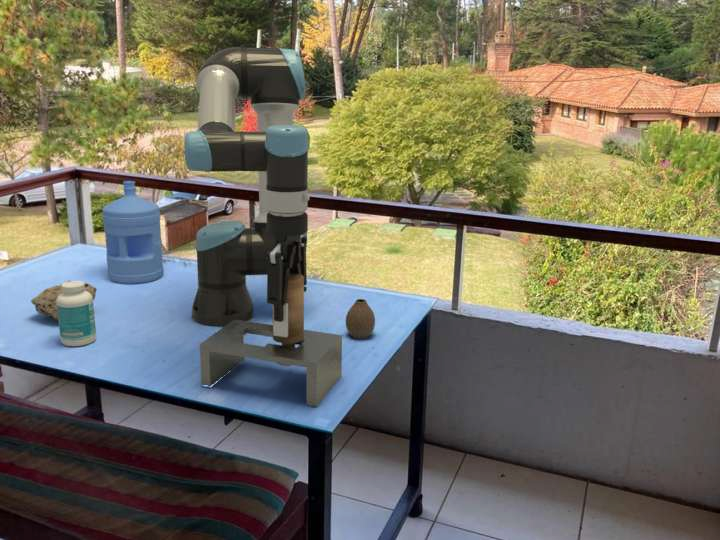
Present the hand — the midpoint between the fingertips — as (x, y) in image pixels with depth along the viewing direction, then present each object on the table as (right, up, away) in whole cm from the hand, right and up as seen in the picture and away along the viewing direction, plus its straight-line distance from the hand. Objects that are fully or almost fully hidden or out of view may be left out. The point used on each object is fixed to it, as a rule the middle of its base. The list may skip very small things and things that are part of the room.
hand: (287, 329), depth 129 cm
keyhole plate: (-3, -11, +4) cm, 12 cm away
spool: (0, -6, +2) cm, 6 cm away
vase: (+14, -4, +28) cm, 32 cm away
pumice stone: (-58, 0, +36) cm, 68 cm away
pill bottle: (-49, -5, +21) cm, 54 cm away
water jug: (-52, +9, +67) cm, 85 cm away
